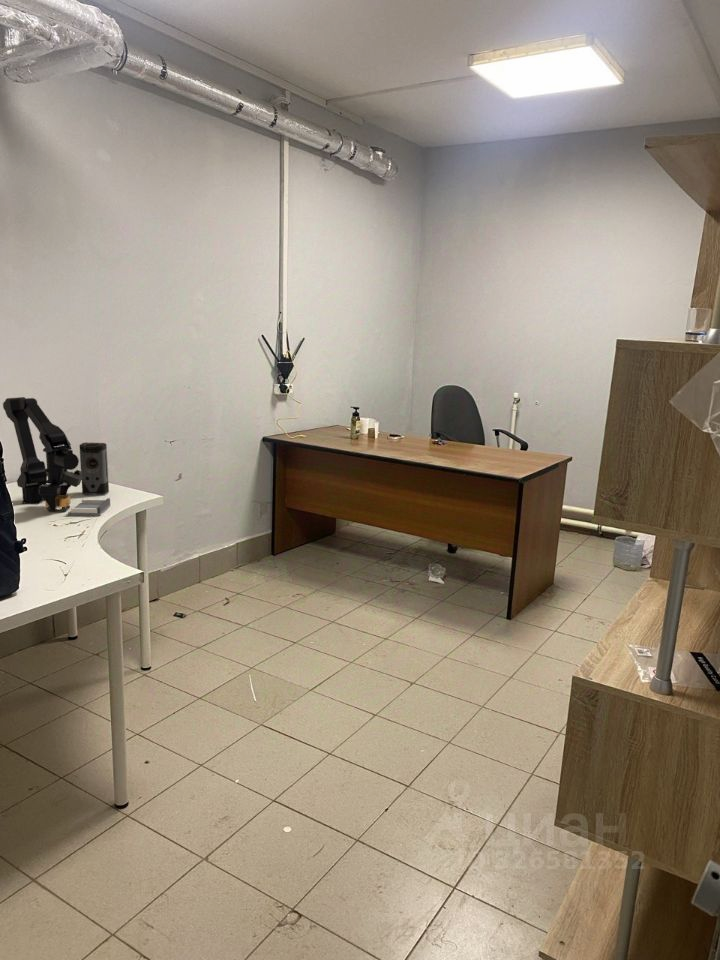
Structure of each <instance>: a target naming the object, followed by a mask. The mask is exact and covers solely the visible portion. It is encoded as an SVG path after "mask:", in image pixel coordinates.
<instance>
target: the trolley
mask: <svg viewBox="0 0 720 960" xmlns="http://www.w3.org/2000/svg"><path fill="white" fill-rule="evenodd" d="M44 501H45V500H44ZM71 502H72V501H71V495H69V494H68V495H58V496H57V502H56V508H60V509H61V511H62V512H64V513H65V512H67V510H70V509H71V506H70V504H71ZM45 507H46V510H47V512H53V511H52V510H51V508H50V507H49V505H48V504H47V502H46V501H45Z"/></svg>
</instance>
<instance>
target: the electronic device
mask: <svg viewBox="0 0 720 960" xmlns="http://www.w3.org/2000/svg"><path fill="white" fill-rule="evenodd" d="M107 449H108V448H107V443H105V442H82V443H80V444H79V462H80V471H81V475H82V477H83V479H82V480H81V491H82V495H84V496H106V495H107V494H109V492H110V487H109V469H108V468H109V467H108V451H107ZM105 494H106V495H105Z"/></svg>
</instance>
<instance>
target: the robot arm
mask: <svg viewBox="0 0 720 960" xmlns="http://www.w3.org/2000/svg"><path fill="white" fill-rule="evenodd" d="M2 408H3V410H4V412H5V415H6V417H7V418H8V419H9V420H10V421H11V422H12V423H13V426H14V430H15V434H16V439H17V442H18V447H19V449H20V454H21V458H22V463H21V466H20V470H19V471H20V474H19V476H18V478H17V480H16V484H17V487H18V488H21V492H22V501H21V502H23V503H22V504H36V503H38V504H41V503H42V502H44V501H46V502H47V504H48V505H49V507H50V508H51V510H52V511H51V512H56V511H57V510H56V509H57V507H56V502H57V496H58V495H67V494H68V491H69V489H70V488H71V487H75V488H78V486H80V485H81V483H82V479H83V477H82V475H81V470H79V469H76V468H77V467H78V465H79V462H80V458H79V457H78V455H76V454H75V453H73V449H72V446H71V445H72V444H71V443H70V441H69V439H68V437H67V435H66V433H65V431H64V430H63V429H62V428H61V427H59V426H58V425H56V424H54V423H52V421H51V420H50V419H49V418H48V416H47V415H46V414H45V412H44V411H43V409H42V408H41V407H40V405H39V404H38V400H37V399H36V398H33V397H28V398H26V397H25V396H22V397H21V396H20V397H8V398H7V397H6V399H5V401H3V403H2ZM29 419H30V421H31V422H32V424H33V425H34V426H35V428H36V430H37V431H38V432H39V435H38V436H39V440H40V442H41V444H42V446H44V448H43V449H42V452H44V453H45V459H46V463H45V461H43V460H42V461H41V460H40V459H39V458H38V456H37V451H36V448H35V444H34V440H33V434H32V431H31V428H30V425H29ZM75 469H76V470H75ZM69 470H71V471H69ZM72 470H75V471H74V472H73V471H72ZM24 502H25V503H24ZM46 502H45V503H46Z"/></svg>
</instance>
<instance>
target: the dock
mask: <svg viewBox="0 0 720 960" xmlns="http://www.w3.org/2000/svg"><path fill="white" fill-rule="evenodd" d="M109 508H111V498H106V499H99V498H98V499H96V498H95V499H88V498H87V499H86V498H84V499H81V502H80V503H78V504H77V505H76V506H74V507H72V508H71V507H70V511H69V512H68V513H67V514H68V515H67V516H71V517H72V516H73V517H74V516H75V517H101V516H102V515H103V514H104V513H105V512H106V511H107V510H108V509H109ZM102 513H103V514H102ZM101 514H102V515H101Z"/></svg>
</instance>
